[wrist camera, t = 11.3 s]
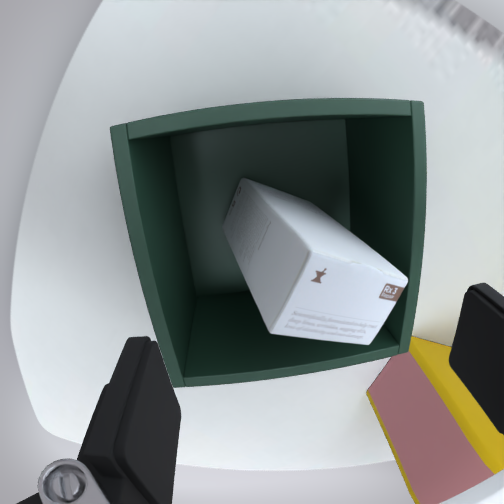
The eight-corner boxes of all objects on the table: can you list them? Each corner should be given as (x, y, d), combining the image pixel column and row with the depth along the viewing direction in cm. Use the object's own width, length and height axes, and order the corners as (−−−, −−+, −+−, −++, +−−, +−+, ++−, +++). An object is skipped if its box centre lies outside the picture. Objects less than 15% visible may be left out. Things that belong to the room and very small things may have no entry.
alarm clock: (363, 394, 34) (441, 591, 9) (406, 334, 31) (534, 538, 7) (463, 404, 38) (537, 527, 13) (498, 359, 35) (591, 478, 10)
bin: (190, 299, 28) (173, 388, 18) (160, 127, 23) (109, 126, 12) (354, 278, 28) (408, 352, 18) (349, 109, 23) (424, 101, 13)
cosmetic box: (219, 229, 24) (259, 341, 13) (242, 171, 22) (306, 247, 12) (292, 249, 26) (367, 354, 15) (316, 198, 24) (414, 280, 14)
